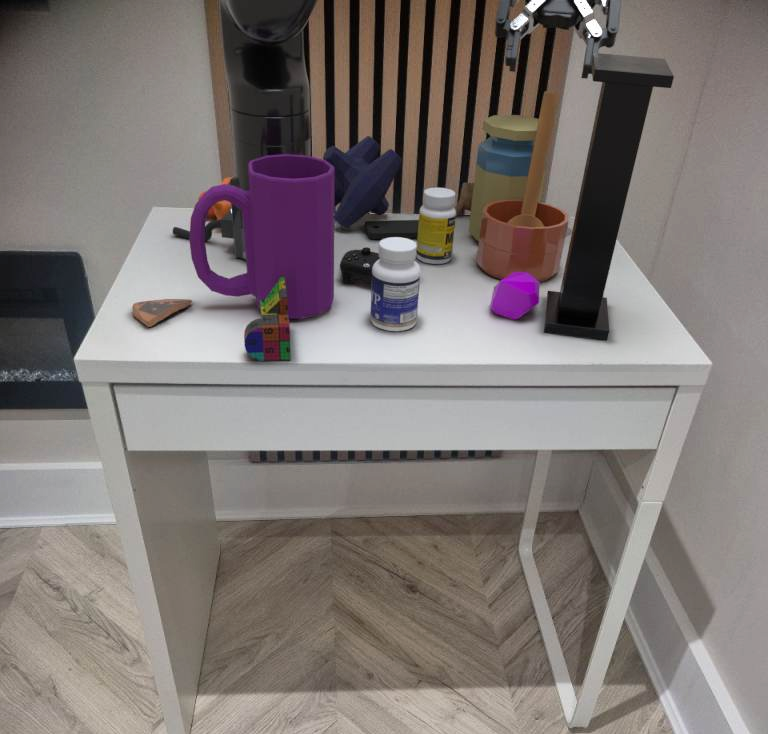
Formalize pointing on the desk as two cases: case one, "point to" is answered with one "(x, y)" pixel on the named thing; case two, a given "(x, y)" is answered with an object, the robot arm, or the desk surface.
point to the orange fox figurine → (220, 204)
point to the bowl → (521, 240)
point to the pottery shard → (157, 309)
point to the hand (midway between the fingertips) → (548, 70)
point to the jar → (502, 163)
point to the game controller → (358, 264)
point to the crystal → (515, 295)
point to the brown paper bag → (465, 198)
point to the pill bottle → (395, 285)
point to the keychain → (392, 228)
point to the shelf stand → (604, 192)
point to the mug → (278, 232)
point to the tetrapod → (361, 180)
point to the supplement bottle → (436, 226)
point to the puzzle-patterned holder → (270, 328)
